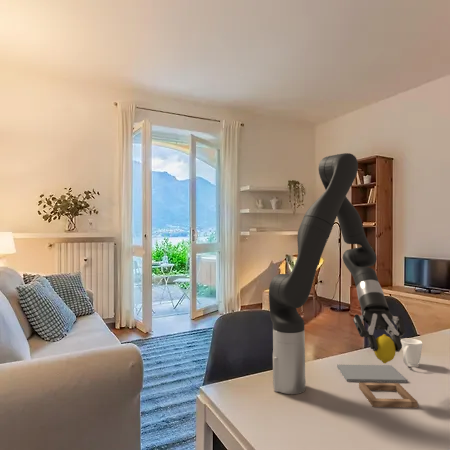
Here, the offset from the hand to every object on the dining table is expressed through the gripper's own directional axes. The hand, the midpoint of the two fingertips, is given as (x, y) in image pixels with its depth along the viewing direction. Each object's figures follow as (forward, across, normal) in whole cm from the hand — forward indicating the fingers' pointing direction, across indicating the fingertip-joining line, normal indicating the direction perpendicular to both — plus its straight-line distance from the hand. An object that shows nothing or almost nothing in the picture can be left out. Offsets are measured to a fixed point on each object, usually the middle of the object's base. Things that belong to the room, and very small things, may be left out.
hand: (387, 349), depth 97 cm
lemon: (+2, 0, +4) cm, 5 cm away
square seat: (+8, 0, +11) cm, 14 cm away
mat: (-3, +2, +22) cm, 22 cm away
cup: (-9, +18, +28) cm, 34 cm away
